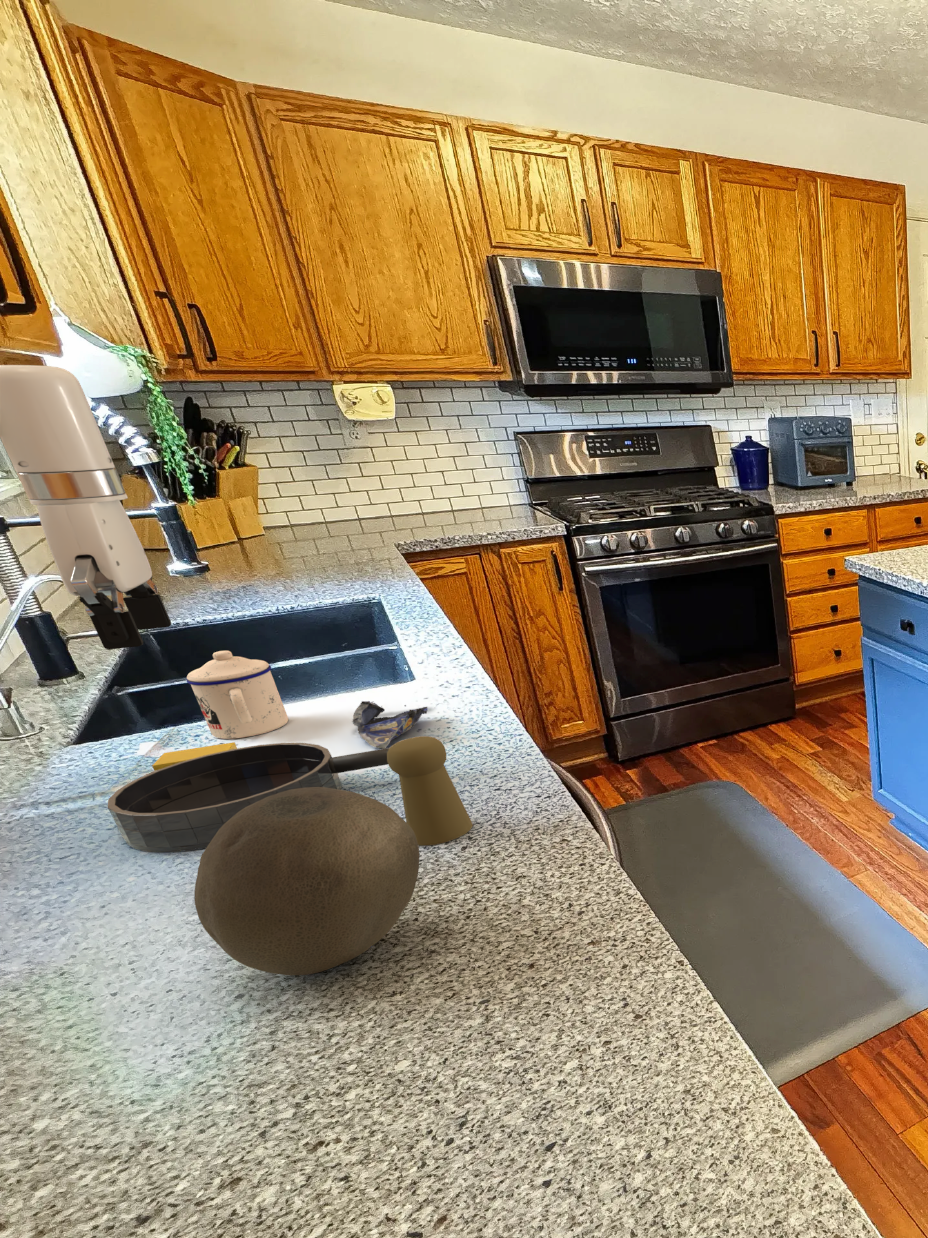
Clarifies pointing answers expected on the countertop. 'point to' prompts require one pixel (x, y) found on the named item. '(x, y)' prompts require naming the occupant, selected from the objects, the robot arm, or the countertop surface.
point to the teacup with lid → (237, 696)
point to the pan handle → (358, 761)
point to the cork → (428, 791)
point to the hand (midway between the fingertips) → (140, 637)
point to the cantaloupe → (306, 879)
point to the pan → (212, 793)
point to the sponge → (190, 754)
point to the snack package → (383, 723)
